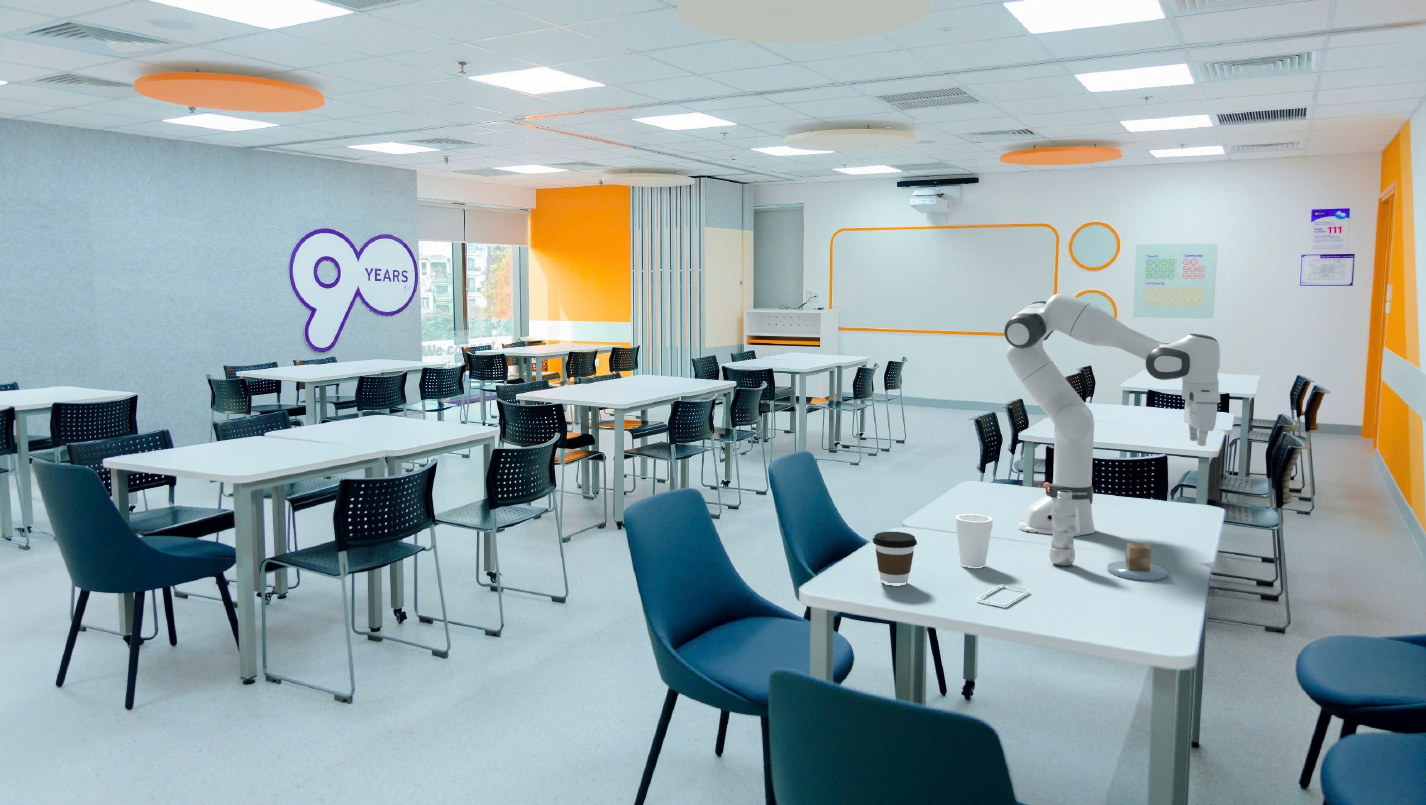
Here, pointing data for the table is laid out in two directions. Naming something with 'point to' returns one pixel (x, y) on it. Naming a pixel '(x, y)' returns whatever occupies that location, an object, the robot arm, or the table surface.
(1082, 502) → the robot arm
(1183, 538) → the table surface
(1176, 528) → the table surface
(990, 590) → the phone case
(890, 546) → the coffee cup
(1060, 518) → the plastic bottle
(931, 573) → the table surface
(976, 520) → the foam cup
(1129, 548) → the walnut block
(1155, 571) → the dish
